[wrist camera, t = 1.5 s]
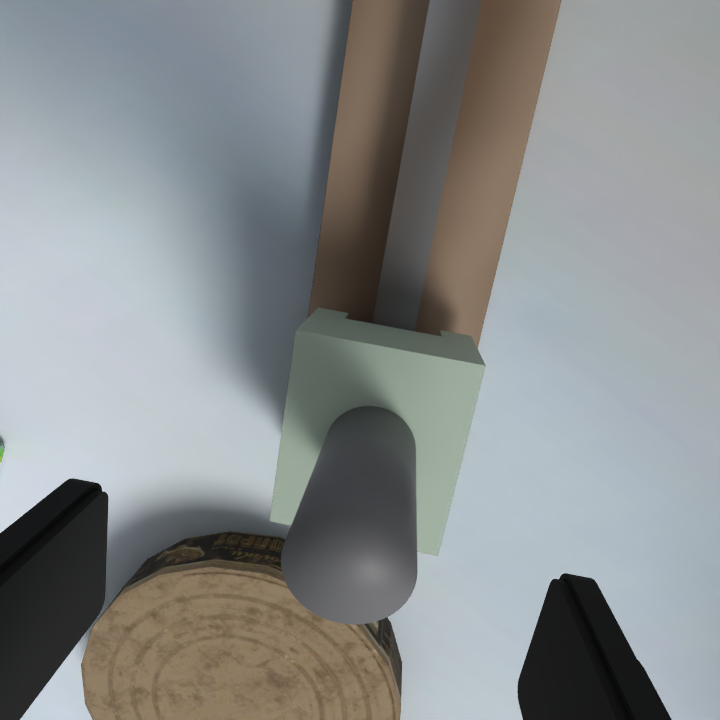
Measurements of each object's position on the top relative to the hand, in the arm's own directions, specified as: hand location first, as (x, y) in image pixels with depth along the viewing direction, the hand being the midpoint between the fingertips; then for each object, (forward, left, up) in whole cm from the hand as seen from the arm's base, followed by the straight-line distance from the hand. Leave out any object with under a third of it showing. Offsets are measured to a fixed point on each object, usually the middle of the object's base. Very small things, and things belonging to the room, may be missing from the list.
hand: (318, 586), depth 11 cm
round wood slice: (+3, +16, -13) cm, 21 cm away
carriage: (-1, 0, -11) cm, 11 cm away
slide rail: (-1, -7, -13) cm, 15 cm away
